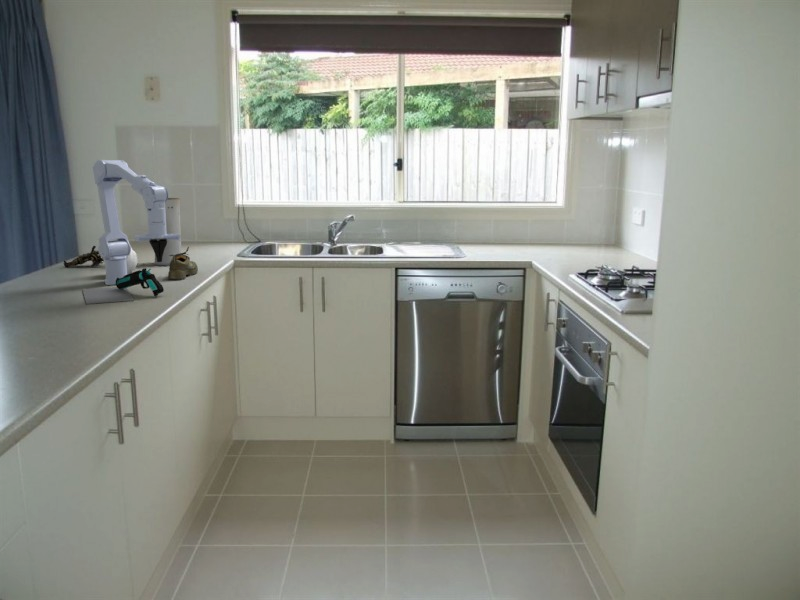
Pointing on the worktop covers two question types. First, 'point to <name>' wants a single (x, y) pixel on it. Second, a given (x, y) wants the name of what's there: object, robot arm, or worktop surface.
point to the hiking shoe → (181, 267)
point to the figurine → (86, 259)
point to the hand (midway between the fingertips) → (159, 261)
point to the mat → (106, 295)
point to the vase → (171, 231)
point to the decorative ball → (130, 261)
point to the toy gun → (140, 281)
